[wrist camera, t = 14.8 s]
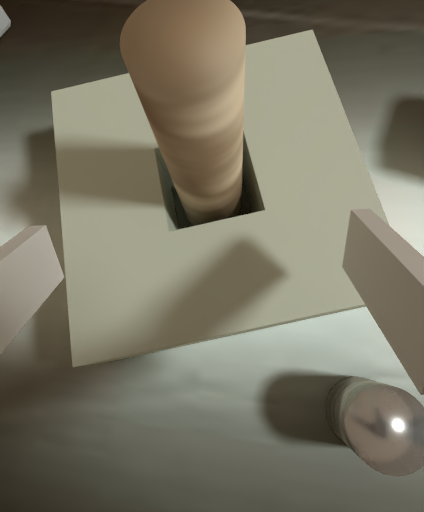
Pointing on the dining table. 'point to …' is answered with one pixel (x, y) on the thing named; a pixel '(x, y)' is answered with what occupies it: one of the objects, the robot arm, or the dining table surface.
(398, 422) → the steel stub
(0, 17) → the tea box
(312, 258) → the sage block
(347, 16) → the dining table surface
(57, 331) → the dining table surface
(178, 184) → the maple pin
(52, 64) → the dining table surface
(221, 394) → the dining table surface
